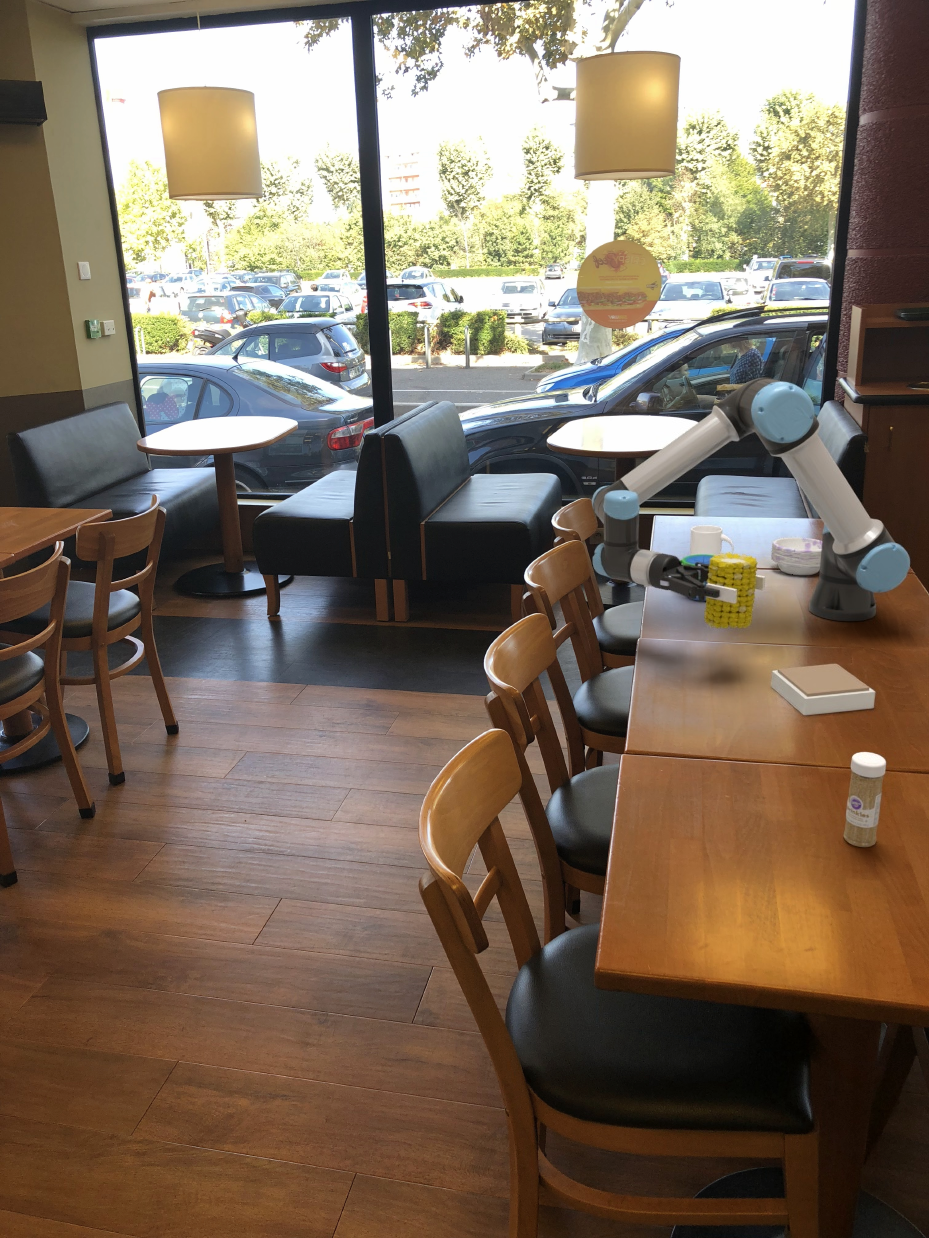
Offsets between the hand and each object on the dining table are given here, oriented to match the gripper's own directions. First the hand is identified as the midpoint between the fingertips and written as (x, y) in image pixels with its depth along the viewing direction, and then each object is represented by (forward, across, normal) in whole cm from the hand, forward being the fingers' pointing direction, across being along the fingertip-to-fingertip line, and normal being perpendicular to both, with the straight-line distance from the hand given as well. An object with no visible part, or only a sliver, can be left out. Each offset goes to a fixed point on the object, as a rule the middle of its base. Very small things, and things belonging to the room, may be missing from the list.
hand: (750, 589), depth 192 cm
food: (-4, 0, -8) cm, 9 cm away
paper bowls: (-29, -76, -20) cm, 84 cm away
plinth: (+15, -2, -20) cm, 25 cm away
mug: (-50, -65, -20) cm, 85 cm away
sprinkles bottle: (+44, +41, -20) cm, 63 cm away
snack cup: (-37, -40, -20) cm, 57 cm away
